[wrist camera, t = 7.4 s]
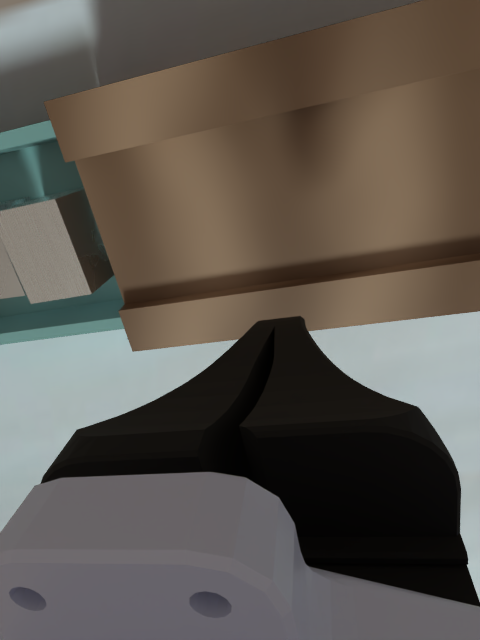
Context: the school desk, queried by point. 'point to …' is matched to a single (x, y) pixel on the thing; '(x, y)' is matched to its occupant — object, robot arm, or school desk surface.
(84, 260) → the grey square block
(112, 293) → the tray
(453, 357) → the school desk surface
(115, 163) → the channel block
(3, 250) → the light grey block
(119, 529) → the robot arm
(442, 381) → the school desk surface
